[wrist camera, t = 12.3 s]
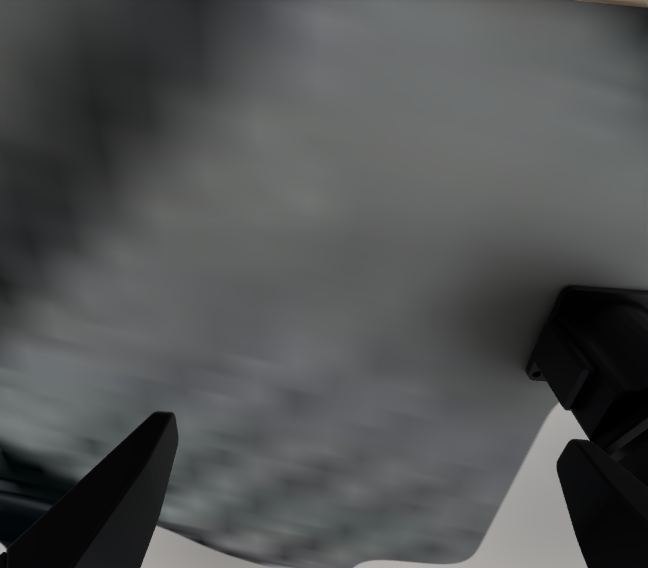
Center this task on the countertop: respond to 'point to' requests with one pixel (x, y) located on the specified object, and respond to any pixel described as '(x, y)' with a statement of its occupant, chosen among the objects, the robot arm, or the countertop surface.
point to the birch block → (622, 2)
